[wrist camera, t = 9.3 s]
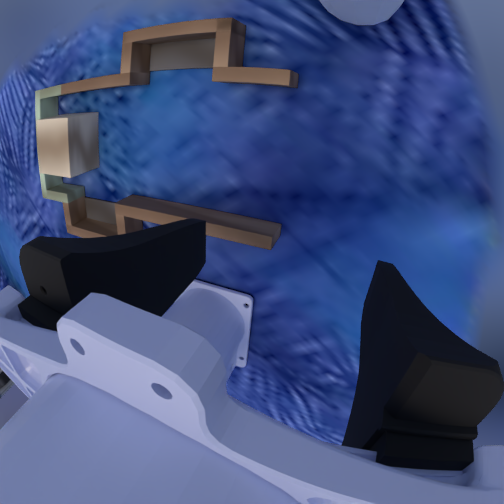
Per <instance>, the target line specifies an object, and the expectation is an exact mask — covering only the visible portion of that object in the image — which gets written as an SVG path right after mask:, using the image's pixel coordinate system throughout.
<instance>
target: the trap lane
mask: <svg viewBox="0 0 504 504" xmlns="http://www.w3.org/2000/svg"><path fill="white" fill-rule="evenodd" d="M245 31H246V25H244V24H242V23H240V22H239V21H237V20H235V19H234V18H217V19H204V20H194V21H186V22H178V23H171V24H164V25H158V26H153V27H147V28H142V29H137V30H132V31H128V32H124V34H123V44H122V57H121V74H114V75H108V76H102V77H96V78H90V79H85V80H80V81H75V82H71V83H66V84H62V85H57V86H53V87H49V88H45V89H42V90H38V91H35V110H36V136H37V120H40V119H44V118H48V117H53V116H58V96H62V95H67V94H73V93H79V92H85V91H92V90H99V89H106V88H115V87H124V86H135V85H148V84H149V80H150V71H158V70H172V69H192V68H213V75H212V81H214V82H223V83H240V84H257V85H271V86H282V87H291V88H297V87H298V77H299V74H297V73H295V72H293V71H291V70H284V69H271V68H253V67H242V65H243V53H244V42H245ZM37 150H38V143H37ZM38 161H39V157H38ZM39 171H40V168H39ZM40 179H41V187H42V194H43V198H47V199H51V200H56V201H60V202H63V208H64V214H65V220H66V226H67V232H68V233H70V234H73V235H76V236H79V237H82V238H93V237H105V236H113V235H120V234H126V233H131V232H135V231H140V230H143V225H142V220H144V221H148V222H152V223H157V224H161V225H163V224H167V223H171V222H175V221H179V220H184V219H190V218H195V219H200V220H204V221H206V235H208V236H213V237H217V238H221V239H226V240H230V241H234V242H238V243H243V244H247V245H251V246H255V247H260V248H264V249H268V250H271V249H272V248H273V246H274V244H275V243H276V241H277V240H278V238H279V237H280V233H281V225H282V224H279V223H275V222H270V221H266V220H261V219H256V218H251V217H247V216H242V215H237V214H232V213H227V212H222V211H217V210H212V209H207V208H202V207H197V206H192V205H186V204H181V203H176V202H170V201H165V200H160V199H154V198H149V197H143V196H138V195H131V196H128V197H126V198H124V199H122V200H120V201H118V202H116V203H115V202H110V201H105V200H99V199H94V198H89V197H85V190H84V186H78V185H72V184H65V183H63V180H62V176H55V175H49V174H42V173H40Z"/></svg>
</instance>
